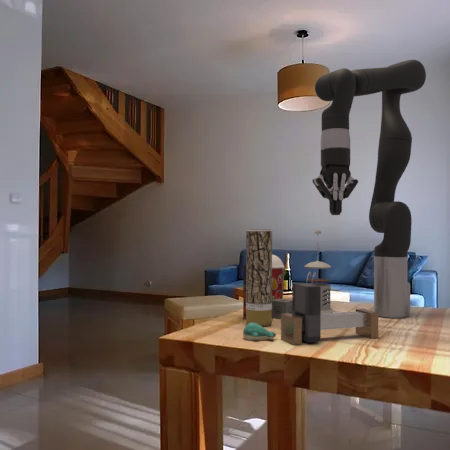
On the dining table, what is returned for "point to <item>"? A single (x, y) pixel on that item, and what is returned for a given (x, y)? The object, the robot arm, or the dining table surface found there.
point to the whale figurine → (257, 332)
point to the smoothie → (277, 278)
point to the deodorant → (244, 293)
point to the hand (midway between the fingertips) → (335, 214)
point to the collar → (308, 309)
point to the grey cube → (281, 307)
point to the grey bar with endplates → (330, 324)
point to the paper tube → (259, 276)
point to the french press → (324, 287)
